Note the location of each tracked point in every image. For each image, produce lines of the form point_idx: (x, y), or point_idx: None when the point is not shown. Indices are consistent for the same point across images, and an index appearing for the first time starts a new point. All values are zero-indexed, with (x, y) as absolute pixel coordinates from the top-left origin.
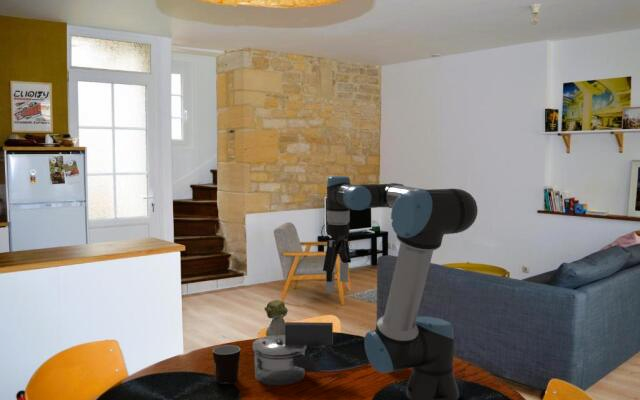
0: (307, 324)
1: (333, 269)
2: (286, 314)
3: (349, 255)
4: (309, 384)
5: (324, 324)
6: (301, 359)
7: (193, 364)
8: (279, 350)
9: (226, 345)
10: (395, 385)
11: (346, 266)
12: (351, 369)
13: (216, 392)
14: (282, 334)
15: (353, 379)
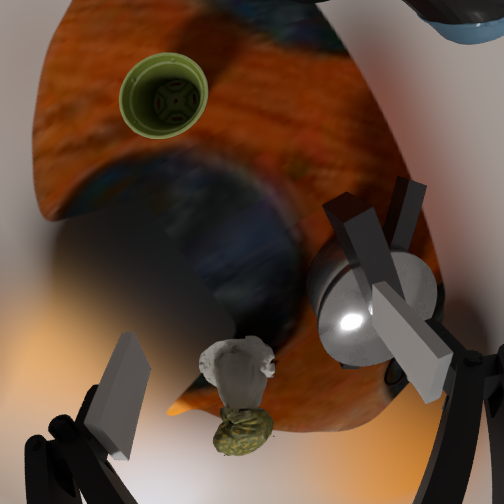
0: (393, 283)
1: (461, 367)
2: (225, 408)
3: (38, 464)
4: (372, 202)
5: (373, 237)
6: (413, 229)
7: (360, 403)
8: (424, 285)
9: (409, 379)
10: (284, 34)
11: (109, 410)
12: (248, 163)
13: (443, 311)
14: (249, 372)
15: (303, 128)
